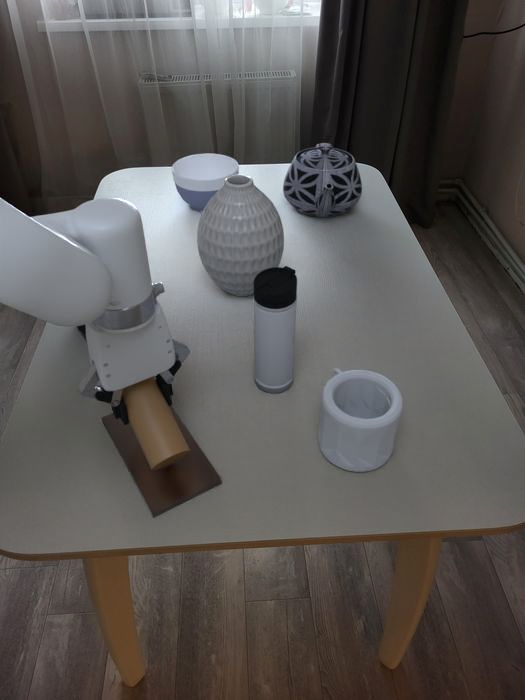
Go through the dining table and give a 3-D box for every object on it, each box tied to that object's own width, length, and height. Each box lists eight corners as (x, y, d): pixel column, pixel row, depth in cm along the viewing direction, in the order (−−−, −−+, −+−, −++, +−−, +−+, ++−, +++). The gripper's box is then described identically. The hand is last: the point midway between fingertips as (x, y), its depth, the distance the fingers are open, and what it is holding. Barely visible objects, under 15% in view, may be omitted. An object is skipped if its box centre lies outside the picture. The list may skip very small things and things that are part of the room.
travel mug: (302, 378, 91) (308, 275, 78) (275, 399, 87) (277, 295, 74) (273, 361, 94) (275, 259, 81) (246, 381, 90) (243, 277, 77)
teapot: (283, 238, 125) (285, 174, 116) (281, 180, 149) (283, 123, 139) (368, 238, 125) (377, 174, 115) (353, 180, 148) (359, 123, 139)
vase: (287, 267, 116) (290, 163, 101) (277, 314, 104) (279, 204, 89) (211, 261, 118) (203, 159, 103) (192, 306, 106) (181, 197, 91)
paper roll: (150, 474, 75) (153, 464, 70) (115, 397, 79) (115, 383, 74) (187, 456, 78) (192, 446, 73) (151, 382, 81) (154, 367, 76)
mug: (407, 460, 78) (420, 412, 72) (338, 483, 75) (344, 435, 69) (361, 396, 88) (368, 348, 81) (298, 414, 85) (301, 366, 78)
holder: (153, 518, 71) (152, 513, 71) (102, 422, 84) (101, 417, 83) (221, 483, 75) (221, 479, 75) (163, 397, 88) (162, 392, 87)
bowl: (187, 187, 146) (183, 151, 139) (246, 192, 143) (245, 155, 137) (167, 215, 134) (162, 177, 128) (231, 221, 131) (229, 182, 125)
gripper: (174, 268, 72) (187, 370, 83) (40, 311, 65) (75, 416, 76) (202, 296, 67) (211, 401, 79) (60, 347, 60) (94, 453, 72)
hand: (144, 408), depth 77 cm, fingers closed on paper roll, 5 cm apart
